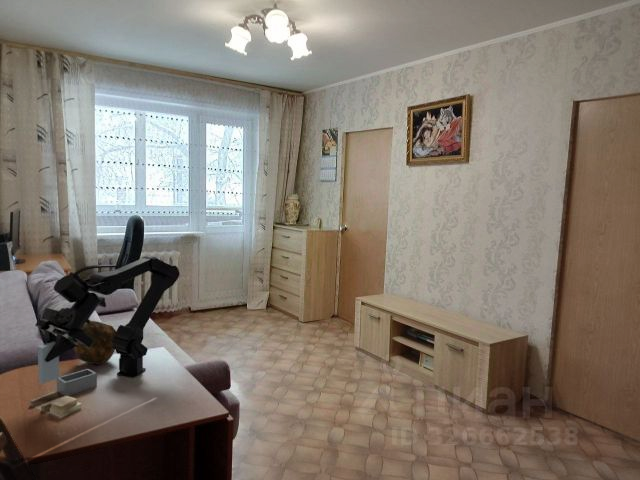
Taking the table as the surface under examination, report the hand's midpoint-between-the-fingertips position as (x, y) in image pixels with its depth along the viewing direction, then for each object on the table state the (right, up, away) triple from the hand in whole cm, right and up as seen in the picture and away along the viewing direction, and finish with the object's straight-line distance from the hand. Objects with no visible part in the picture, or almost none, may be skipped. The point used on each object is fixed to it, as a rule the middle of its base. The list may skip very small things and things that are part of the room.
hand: (43, 360), depth 124 cm
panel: (0, -6, +2) cm, 6 cm away
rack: (+3, -13, +1) cm, 14 cm away
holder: (+2, -12, +13) cm, 18 cm away
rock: (-2, -10, +32) cm, 34 cm away
